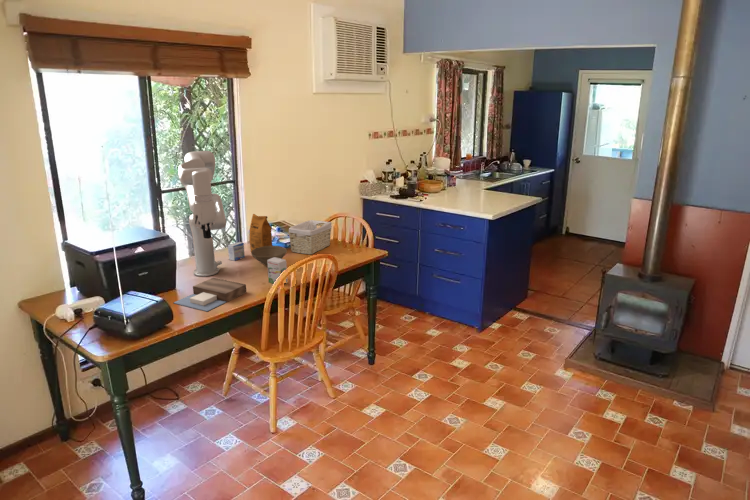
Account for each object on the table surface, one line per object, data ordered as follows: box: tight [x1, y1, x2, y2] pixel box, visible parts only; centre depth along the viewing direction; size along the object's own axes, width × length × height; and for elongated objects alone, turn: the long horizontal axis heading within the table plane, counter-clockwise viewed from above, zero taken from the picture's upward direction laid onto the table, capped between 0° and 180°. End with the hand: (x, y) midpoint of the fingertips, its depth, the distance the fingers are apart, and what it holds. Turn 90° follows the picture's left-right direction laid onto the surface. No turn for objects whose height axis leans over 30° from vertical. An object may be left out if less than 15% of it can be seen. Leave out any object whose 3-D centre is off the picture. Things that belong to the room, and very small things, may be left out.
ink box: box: [267, 257, 288, 284], centre depth 251 cm, size 8×5×12 cm, turn 55°
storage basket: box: [288, 219, 332, 255], centre depth 304 cm, size 24×16×15 cm
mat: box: [173, 293, 227, 313], centre depth 229 cm, size 11×20×1 cm, turn 62°
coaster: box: [190, 292, 217, 306], centre depth 230 cm, size 8×8×2 cm
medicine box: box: [227, 241, 246, 262], centre depth 288 cm, size 8×4×9 cm, turn 148°
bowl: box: [250, 245, 288, 266], centre depth 278 cm, size 18×18×8 cm
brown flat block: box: [192, 277, 247, 303], centre depth 239 cm, size 13×20×4 cm, turn 62°
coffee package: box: [249, 213, 273, 253], centre depth 298 cm, size 10×12×22 cm
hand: (207, 237), depth 238 cm, fingers closed
